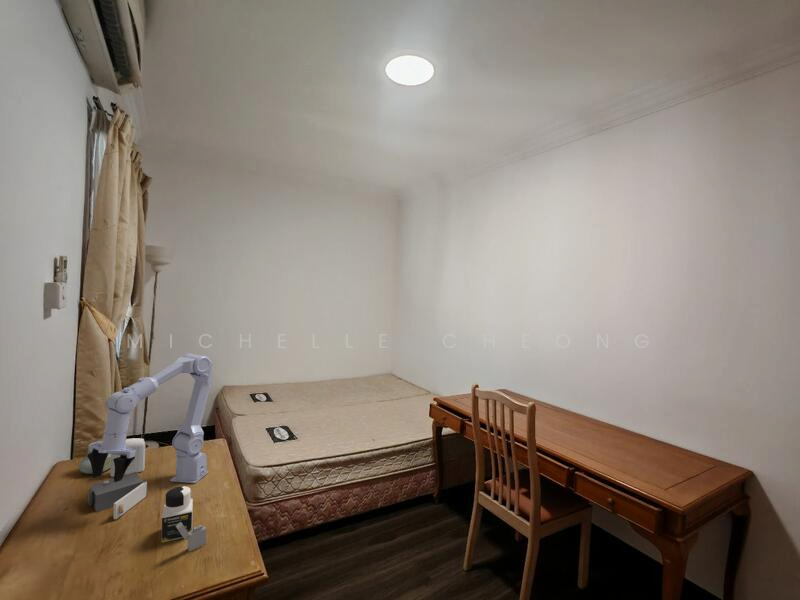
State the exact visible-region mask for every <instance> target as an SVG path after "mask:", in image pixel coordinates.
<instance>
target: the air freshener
mask: <svg viewBox="0 0 800 600" xmlns="http://www.w3.org/2000/svg"><path fill="white" fill-rule="evenodd" d="M102 442H103V440H98V441H94V442H91V443H89V444H88V445H87V455H86V456H85V457H83V458H82V459H80V461H79V463H78V470H79V471H80V472H81V473H83V474H88V475H93V474H92V467H91V463H90V460H89V458H88V457H87V456H88V454H89V453H92V452H93V451H89V450H90V445H91V444H94V443H102ZM110 468H111V454H108V456H107V458H106V460H105V463H104V467H103V471H102V473H105V472H106V471H107V470H109V469H110Z"/></svg>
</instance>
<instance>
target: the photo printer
mask: <svg viewBox="0 0 800 600" xmlns="http://www.w3.org/2000/svg"><path fill="white" fill-rule="evenodd" d="M125 446H126V447H129V448H131V449H133V450H136V453H135V458H134V460H133V461H132V462H131V463H130V465H129V466H128V468H127V470H126V472H125V474H124V475H127V474H130V473H134V472H136V473H137V474H138V473H140V472H144V471H145V470H146V469H145V468H146V467H145V465H146V441H145V439H144V438H139V437H138V438H135V437H133V438H126V442H125ZM118 457H120V455H114V454H111V468H109V469H110V471H109V473H110V475H109V476H110V477H112V478H114V473H115V465H114V461H113V459H115V458H118Z"/></svg>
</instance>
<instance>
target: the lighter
mask: <svg viewBox="0 0 800 600" xmlns="http://www.w3.org/2000/svg"><path fill="white" fill-rule="evenodd" d="M176 527H177V529H178V530H179V532H180V533H181V535H182V536H183V538H182V539H184V540H187V550H188V552H192V550H193V551H194V549H195V550H196V548H197V549H199V548H201V546H202V547H204V546H206V545H207V529H208V528H207V527H206V526H205V525H203V524H202V525H201V524H198V525H196V526H194V527H193V526H192V531H190V532H187V530H186V529H185V527H184V526H183V524H182V523H181V522H180V523H178V524H177V525H176ZM205 544H206V545H205ZM203 545H204V546H203ZM198 547H199V548H198Z"/></svg>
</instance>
